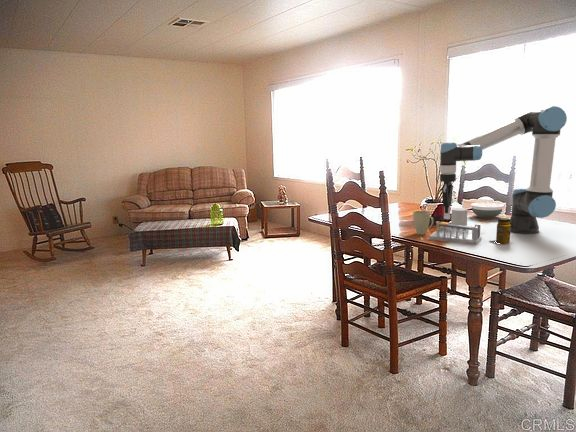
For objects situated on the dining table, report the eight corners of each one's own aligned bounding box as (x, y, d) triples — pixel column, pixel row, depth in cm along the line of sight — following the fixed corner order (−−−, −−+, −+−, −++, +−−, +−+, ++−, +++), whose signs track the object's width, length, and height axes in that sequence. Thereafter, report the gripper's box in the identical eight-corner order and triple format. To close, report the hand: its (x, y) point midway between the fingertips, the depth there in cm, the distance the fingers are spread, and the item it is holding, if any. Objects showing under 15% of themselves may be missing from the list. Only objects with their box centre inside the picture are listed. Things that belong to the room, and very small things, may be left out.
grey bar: (479, 230, 207) (479, 225, 207) (477, 232, 204) (478, 227, 203) (440, 226, 218) (440, 221, 217) (438, 227, 215) (438, 223, 214)
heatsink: (481, 239, 211) (482, 223, 210) (476, 244, 202) (477, 228, 200) (435, 234, 224) (436, 220, 223) (429, 239, 215) (429, 224, 213)
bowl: (474, 213, 274) (474, 201, 272) (505, 215, 263) (506, 203, 261) (467, 218, 259) (467, 205, 257) (500, 221, 248) (501, 207, 246)
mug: (411, 235, 225) (412, 213, 222) (413, 231, 234) (413, 210, 231) (433, 236, 221) (433, 214, 218) (434, 232, 230) (434, 211, 227)
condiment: (513, 243, 201) (515, 219, 198) (498, 245, 199) (500, 221, 197) (503, 240, 208) (504, 216, 205) (488, 241, 206) (489, 218, 204)
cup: (468, 231, 227) (468, 210, 224) (452, 231, 228) (453, 210, 226) (464, 228, 234) (465, 207, 232) (449, 228, 236) (450, 208, 234)
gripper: (443, 172, 216) (442, 215, 221) (436, 174, 206) (435, 220, 210) (458, 172, 212) (457, 216, 217) (452, 174, 202) (451, 221, 206)
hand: (446, 218), depth 213 cm, fingers closed
